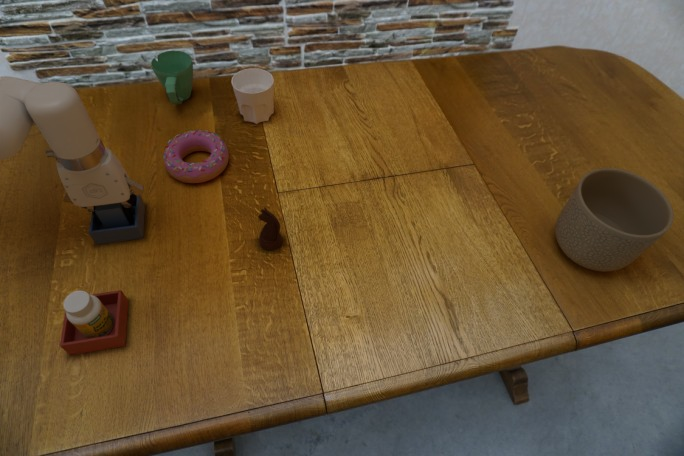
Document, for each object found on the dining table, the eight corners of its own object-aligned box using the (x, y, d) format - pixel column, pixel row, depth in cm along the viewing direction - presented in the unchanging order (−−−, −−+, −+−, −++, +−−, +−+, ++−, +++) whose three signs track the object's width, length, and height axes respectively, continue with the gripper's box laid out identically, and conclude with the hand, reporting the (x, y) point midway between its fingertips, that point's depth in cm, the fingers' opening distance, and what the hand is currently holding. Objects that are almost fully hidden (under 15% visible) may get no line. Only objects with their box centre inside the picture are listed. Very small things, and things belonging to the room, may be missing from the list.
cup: (247, 97, 122) (242, 64, 114) (282, 106, 121) (280, 73, 113) (230, 120, 116) (224, 87, 108) (267, 130, 115) (263, 97, 107)
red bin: (70, 355, 79) (59, 346, 75) (76, 308, 84) (67, 298, 81) (125, 345, 80) (117, 336, 77) (128, 300, 85) (121, 289, 82)
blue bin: (96, 244, 92) (88, 233, 89) (100, 210, 97) (93, 198, 94) (143, 238, 94) (137, 226, 90) (145, 204, 99) (139, 192, 96)
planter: (551, 275, 93) (587, 230, 80) (541, 211, 103) (571, 162, 90) (637, 287, 92) (686, 243, 80) (618, 221, 102) (659, 173, 90)
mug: (163, 84, 124) (152, 51, 116) (200, 82, 125) (192, 49, 117) (159, 120, 115) (147, 87, 107) (199, 118, 116) (190, 84, 108)
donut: (238, 175, 105) (235, 159, 101) (176, 195, 101) (170, 179, 97) (218, 136, 113) (215, 120, 109) (160, 153, 108) (154, 137, 104)
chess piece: (268, 229, 96) (264, 198, 88) (288, 240, 95) (285, 209, 87) (254, 244, 94) (249, 213, 86) (274, 255, 93) (270, 225, 85)
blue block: (106, 230, 93) (94, 211, 88) (108, 212, 95) (97, 193, 91) (130, 226, 93) (120, 208, 89) (131, 209, 96) (121, 190, 91)
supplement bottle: (94, 309, 83) (72, 282, 76) (121, 317, 83) (101, 290, 75) (76, 336, 80) (51, 310, 73) (103, 344, 80) (81, 320, 72)
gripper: (23, 173, 76) (70, 238, 90) (131, 161, 78) (160, 226, 93) (31, 142, 80) (75, 208, 95) (133, 132, 83) (161, 198, 97)
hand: (117, 216), depth 94 cm, fingers closed on blue block, 4 cm apart
